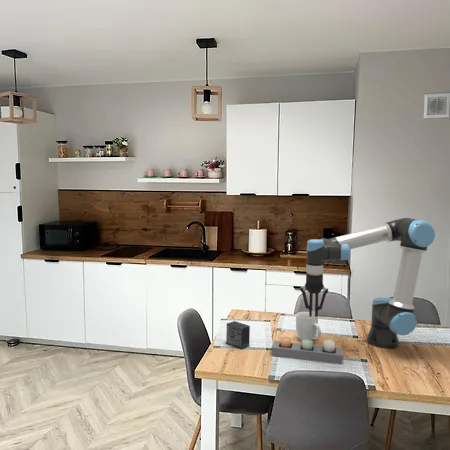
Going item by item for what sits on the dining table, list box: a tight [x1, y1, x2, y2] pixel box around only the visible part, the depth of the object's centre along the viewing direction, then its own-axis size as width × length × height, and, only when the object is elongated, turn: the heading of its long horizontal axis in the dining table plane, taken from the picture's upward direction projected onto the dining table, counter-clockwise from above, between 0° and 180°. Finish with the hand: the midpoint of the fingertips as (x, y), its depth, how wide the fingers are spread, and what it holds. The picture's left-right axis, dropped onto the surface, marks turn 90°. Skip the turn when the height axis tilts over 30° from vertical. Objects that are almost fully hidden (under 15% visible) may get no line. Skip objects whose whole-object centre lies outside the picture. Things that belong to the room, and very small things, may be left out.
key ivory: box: [323, 338, 336, 352], centre depth 199 cm, size 5×5×4 cm
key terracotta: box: [279, 336, 292, 348], centre depth 204 cm, size 5×5×4 cm
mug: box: [295, 311, 322, 342], centre depth 221 cm, size 15×11×13 cm
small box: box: [225, 320, 251, 350], centre depth 214 cm, size 11×6×10 cm, turn 47°
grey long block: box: [270, 340, 343, 365], centre depth 202 cm, size 32×9×4 cm, turn 75°
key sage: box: [301, 339, 314, 351], centre depth 202 cm, size 5×5×4 cm
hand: (313, 323), depth 200 cm, fingers closed
